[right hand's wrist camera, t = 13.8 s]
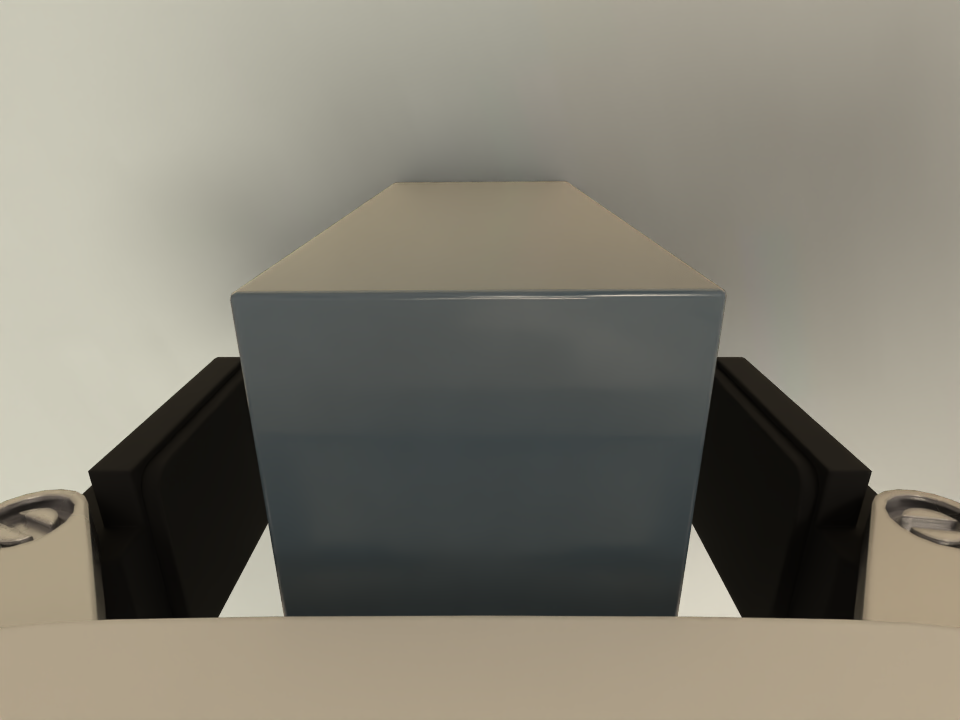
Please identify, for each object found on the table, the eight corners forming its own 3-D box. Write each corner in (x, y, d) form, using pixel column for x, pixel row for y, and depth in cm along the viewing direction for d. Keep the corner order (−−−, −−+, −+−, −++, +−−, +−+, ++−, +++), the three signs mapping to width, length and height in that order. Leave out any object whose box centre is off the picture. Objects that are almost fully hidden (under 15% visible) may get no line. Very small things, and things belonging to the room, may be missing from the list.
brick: (407, 430, 19) (315, 813, 8) (393, 182, 16) (225, 292, 6) (556, 429, 19) (650, 813, 8) (568, 181, 16) (731, 290, 6)
